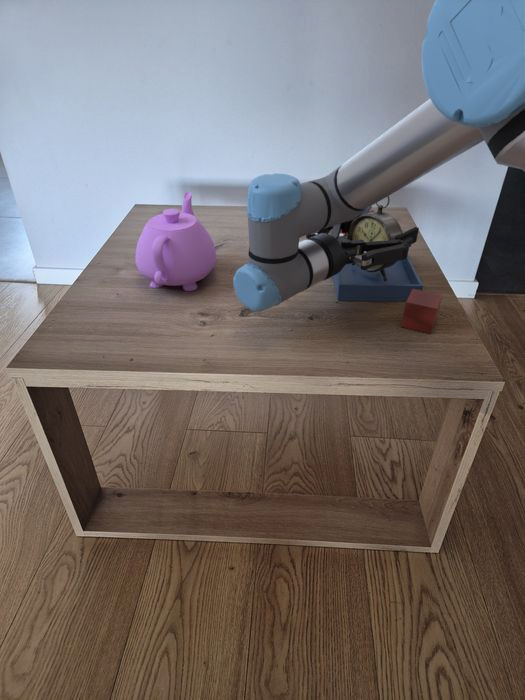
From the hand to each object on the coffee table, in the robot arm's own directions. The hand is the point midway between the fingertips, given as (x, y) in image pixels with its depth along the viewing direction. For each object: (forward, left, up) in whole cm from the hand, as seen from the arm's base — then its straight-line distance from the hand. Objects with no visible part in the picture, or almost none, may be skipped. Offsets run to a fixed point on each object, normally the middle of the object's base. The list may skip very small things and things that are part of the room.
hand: (389, 225), depth 96 cm
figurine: (+17, -8, -10) cm, 21 cm away
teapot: (+27, +31, -10) cm, 42 cm away
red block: (-16, +12, -10) cm, 22 cm away
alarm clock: (0, +4, -9) cm, 10 cm away
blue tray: (0, +4, -10) cm, 10 cm away
